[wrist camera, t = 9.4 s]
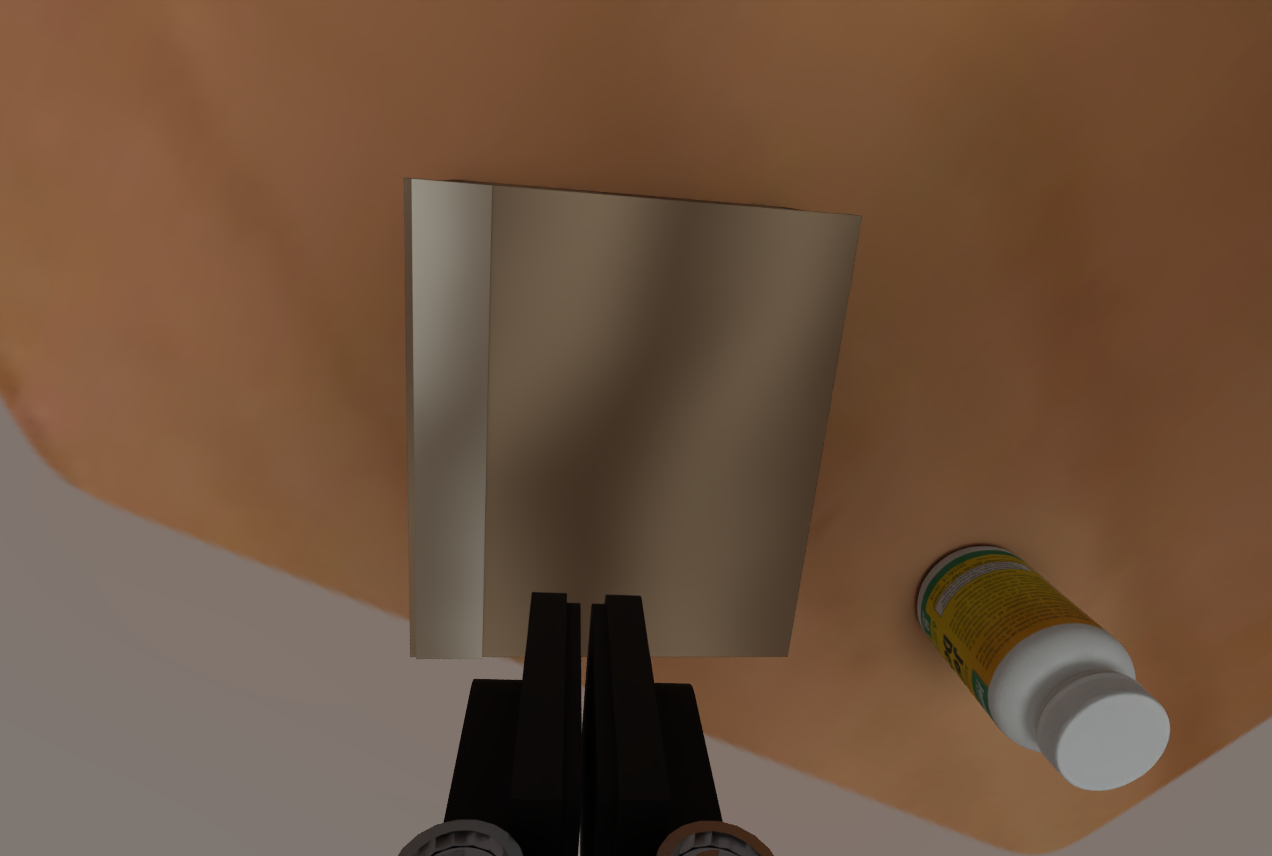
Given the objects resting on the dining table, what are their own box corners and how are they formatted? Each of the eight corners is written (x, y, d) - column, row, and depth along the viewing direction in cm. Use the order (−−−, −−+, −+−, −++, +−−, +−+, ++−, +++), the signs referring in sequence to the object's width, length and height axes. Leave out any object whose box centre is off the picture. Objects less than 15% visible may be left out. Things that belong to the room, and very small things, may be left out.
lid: (854, 214, 21) (863, 216, 21) (783, 647, 26) (788, 658, 25) (407, 177, 20) (403, 177, 19) (412, 647, 24) (409, 658, 24)
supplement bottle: (1049, 589, 35) (1221, 737, 26) (959, 665, 36) (1095, 834, 27) (980, 517, 33) (1138, 648, 24) (888, 599, 34) (1006, 754, 25)
